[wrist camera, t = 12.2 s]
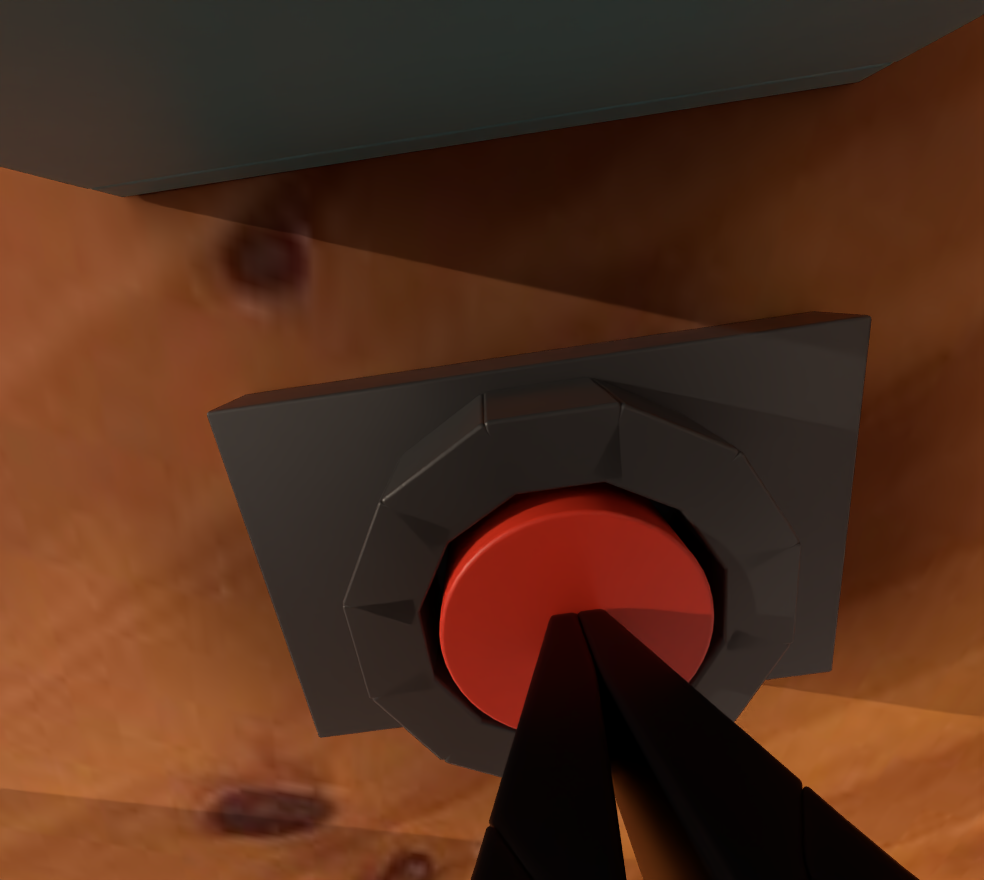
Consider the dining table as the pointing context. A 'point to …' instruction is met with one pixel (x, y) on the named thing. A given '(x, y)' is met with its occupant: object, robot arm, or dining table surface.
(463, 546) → the button
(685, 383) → the switch box
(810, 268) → the dining table surface
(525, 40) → the open box
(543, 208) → the dining table surface
